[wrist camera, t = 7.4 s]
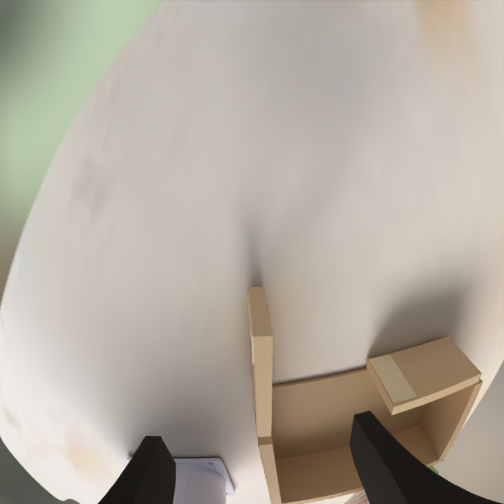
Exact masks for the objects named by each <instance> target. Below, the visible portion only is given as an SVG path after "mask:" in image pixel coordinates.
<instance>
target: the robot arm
mask: <svg viewBox="0 0 504 504" xmlns="http://www.w3.org/2000/svg"><path fill="white" fill-rule="evenodd" d="M349 445H350V449H351V453H352V457H353V461H354V465H355V468H356V470H357V473H358V476H359V478H360V481H361V483H362V486H363V488H364V491H365V493H366V496H367V498H368V501H369V503H370V504H501V503H498V502H494V501H492V500H489V499H486V498H483V497H480V496H478V495H475V494H473V493H470V492H469V491H467V490H465V489H462V488H461V487H459V486H457V485H454V484H453V483H451V482H449V481H448V480H446V479H444V478H443V477H441V476H440V475H438V474H437V473H435V472H434V471H432V470H431V469H430V468H428V467H427V466H426V465H424V464H423V463H422V462H421V461H419V460H418V459H417V458H416V457H415V456H414V455H412V454H411V453H410V452H409V451H408V450H407V449H406V448H405V447H404V446H403V445H402V444H401V443H400V442H398V441H397V440H396V439H395V438H394V437H393V435H392V434H391V433H390V432H389V431H388V430H387V429H386V428H385V427H384V426H383V425H382V424H381V422H380V421H379V420H378V419H377V418H376V417H375V415H374V414H373V413H372V412H371V411H366V412H362V413H358V414H354V418H353V425H352V431H351V437H350V442H349ZM127 462H128V465H127V466H126V468H125V469H124V471H123V472H122V473H121V475H120V476H119V478H118V479H117V481H116V482H115V483H114V485H113V486H112V487H111V488H110V490H109V491H108V492H107V493H106V495H105V496H104V497H103V498H102V499H101V501H100V502H99V503H98V504H226V495H234V494H235V490H234V487H233V485H232V483H231V480H230V478H229V476H228V473H227V471H226V468H225V466H224V463H223V461H222V459H220V458H198V459H173V458H172V456H171V454H170V452H169V451H168V449H167V447H166V445H165V443H164V442H163V440H162V438H161V436H145V437H144V439H143V441H142V442H141V444H140V446H139V447H138V449H137V450H136V452H135V454H134V455H133V457H131V456H129V457H127Z"/></svg>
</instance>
